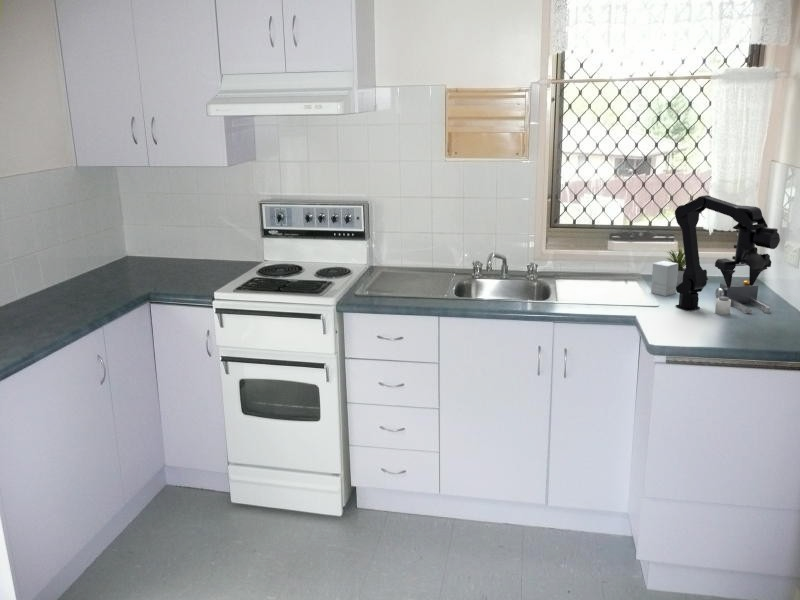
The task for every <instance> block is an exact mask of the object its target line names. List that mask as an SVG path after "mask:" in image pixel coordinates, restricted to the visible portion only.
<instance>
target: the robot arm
mask: <svg viewBox="0 0 800 600" xmlns="http://www.w3.org/2000/svg"><path fill="white" fill-rule="evenodd" d="M706 209H707V210H711V211H713V212H715V213H718V214H722V215H725V216H728V217H730V218H731V219H733V221H735V222H736V223H737V224H735V225H734V226H733V227H732V229H734V230H738V232H737V233H738V234H737V239H736V240H737V241H736V244H734V245H733V248H734V249H735V254H734V256H732V258H731V259H732V260H731V259H729V258H718V259H716V260H715V262H714V267H715V268H717V270H720V272H721V274H722V276H723V278H724V283H726V285H727V287H728V288H730V286H731V283H732V281H733V280H732V279H733V275H734V273H735V272H736V270H735V269H736V267H740V266H741V267H743V266H748V267H749V268H748V269H749V271H748V272H749V274H748V275H749V277H748V278H749V279H748V281H749V282H750V285H751V286H753V284H756V283H755V282H756V281H757V279H758V277H759V275H760V274H761V272H764V271H765V270H767V269H768V268H771V266H772V260H771V258H770V257H771V255H770V254H769V253H763V254H762V253H760V254H759V252H758V250H759V249H758V247H761V248H766V249H769V250H775V249H776V248H777V247H778V246H779V244H780V243H781V242H780V241H781V237H780V234H779V232H778V228H776V227H775V228H773V227H772V228H771V227H768V223H767V222H766V221H765V218H764V216H763V212H762V209H761V208H760V207H758V206H753V205H739V204H738V205H737V204H736V203H732V202H728V201H726V200H722V199H719V198H716V197H713V196H711V195H708V194H705V195H700V196H698V197H696V198H694V199H693V200H690V201H689V202H687V203H685V204H682V205H678V206H677V207H676V208H675V210H674V217H675V220H676V224H678V226H679V228H680V229H681V234H682V244H683V252H684V257H685V263H686V265H685V267H684V268H685V271H684V273H683V282H682V283H680V284H679V285H677V287H676V294H677V293H678V294H679V298H678V299H679V300H678V304H675V307H676V308H678V309H682V310H685V311H692V310H700V309H701V307H700V306H699V299H700V297H699V292H702V291H703V289H704V287H706V285H707V284H708V280H709V278H708V271H707V269H703V268H702V266H701V263H700V254H699V246H698V245H699V244H698V236H697V235H698V234H697V225H698V223H699V220H700V213H701V212H703V211H705V210H706Z"/></svg>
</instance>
